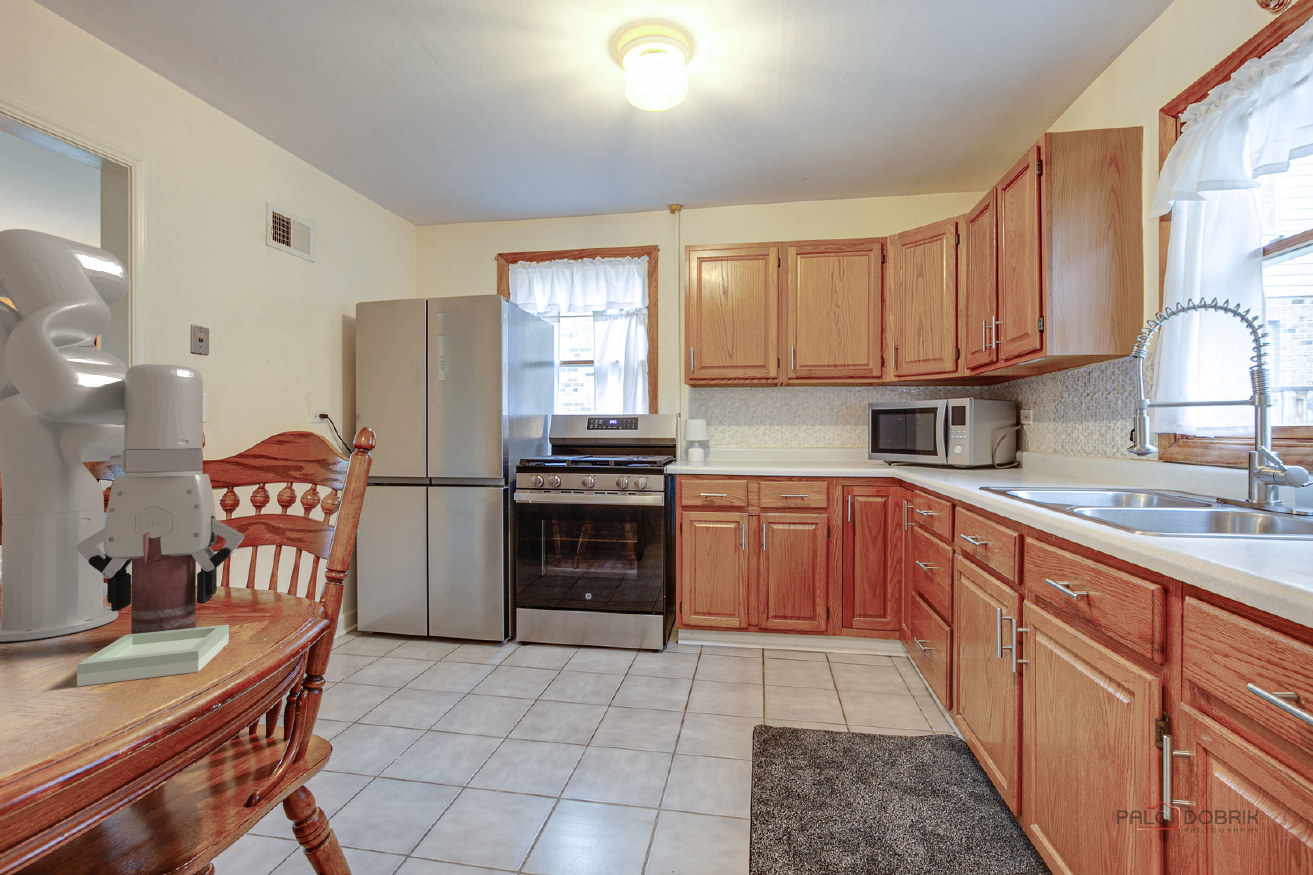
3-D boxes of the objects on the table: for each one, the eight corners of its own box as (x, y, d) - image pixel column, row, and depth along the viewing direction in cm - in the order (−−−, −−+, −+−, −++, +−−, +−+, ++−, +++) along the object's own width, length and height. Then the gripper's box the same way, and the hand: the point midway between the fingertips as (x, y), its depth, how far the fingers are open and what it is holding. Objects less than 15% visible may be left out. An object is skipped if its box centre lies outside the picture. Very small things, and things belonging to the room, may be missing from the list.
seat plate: (125, 653, 68) (125, 634, 68) (228, 642, 71) (228, 624, 71) (77, 686, 58) (77, 664, 58) (198, 671, 62) (198, 650, 62)
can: (118, 650, 69) (119, 532, 69) (149, 634, 75) (149, 525, 75) (179, 645, 70) (179, 529, 70) (204, 629, 76) (204, 523, 77)
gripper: (56, 466, 66) (54, 621, 66) (238, 463, 73) (237, 604, 72) (91, 464, 73) (90, 604, 73) (255, 462, 80) (254, 591, 79)
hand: (163, 603), depth 73 cm, fingers open, 7 cm apart
